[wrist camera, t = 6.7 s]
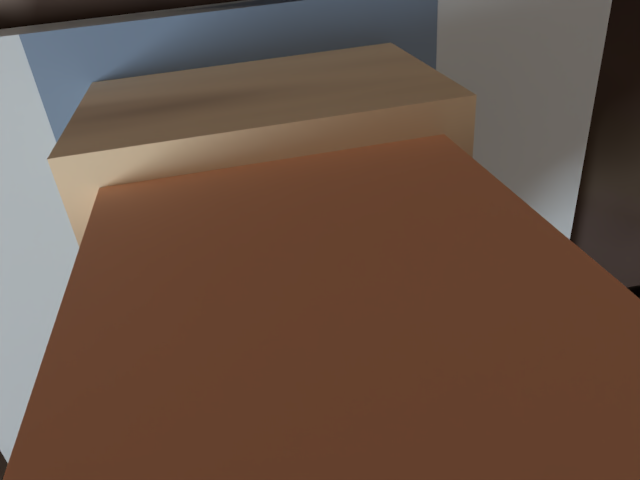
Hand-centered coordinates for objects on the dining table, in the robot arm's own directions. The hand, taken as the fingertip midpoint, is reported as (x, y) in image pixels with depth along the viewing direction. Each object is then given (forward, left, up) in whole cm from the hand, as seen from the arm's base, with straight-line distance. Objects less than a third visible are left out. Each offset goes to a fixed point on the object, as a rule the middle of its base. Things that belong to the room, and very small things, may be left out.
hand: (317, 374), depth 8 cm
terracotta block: (0, 0, -2) cm, 2 cm away
